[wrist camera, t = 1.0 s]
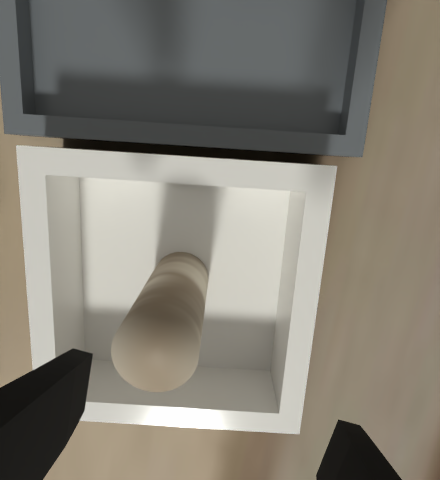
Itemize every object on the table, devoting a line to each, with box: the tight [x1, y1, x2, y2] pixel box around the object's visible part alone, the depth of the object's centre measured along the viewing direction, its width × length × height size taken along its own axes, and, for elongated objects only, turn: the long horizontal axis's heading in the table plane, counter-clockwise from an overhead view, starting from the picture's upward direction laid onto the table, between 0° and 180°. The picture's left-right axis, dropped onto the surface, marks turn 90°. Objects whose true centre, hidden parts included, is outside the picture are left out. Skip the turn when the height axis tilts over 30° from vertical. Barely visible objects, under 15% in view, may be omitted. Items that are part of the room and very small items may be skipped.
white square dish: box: [16, 145, 337, 434], centre depth 19 cm, size 14×14×4 cm
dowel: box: [111, 252, 208, 392], centre depth 16 cm, size 3×3×8 cm
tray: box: [0, 0, 387, 157], centre depth 17 cm, size 18×10×2 cm, turn 86°
